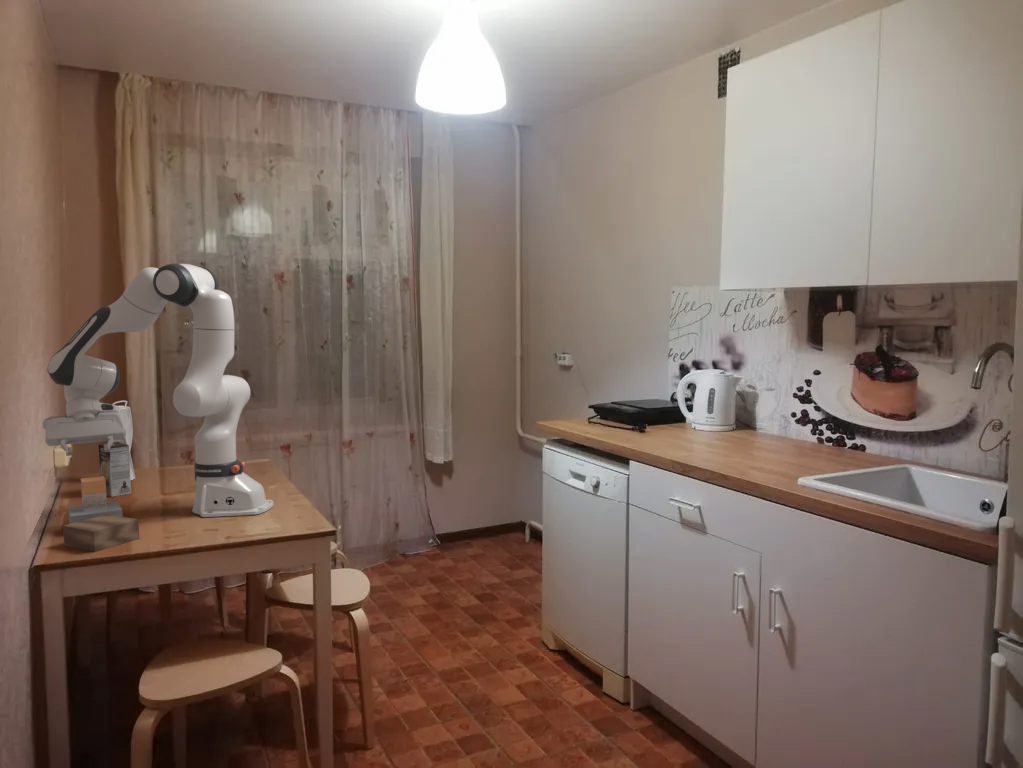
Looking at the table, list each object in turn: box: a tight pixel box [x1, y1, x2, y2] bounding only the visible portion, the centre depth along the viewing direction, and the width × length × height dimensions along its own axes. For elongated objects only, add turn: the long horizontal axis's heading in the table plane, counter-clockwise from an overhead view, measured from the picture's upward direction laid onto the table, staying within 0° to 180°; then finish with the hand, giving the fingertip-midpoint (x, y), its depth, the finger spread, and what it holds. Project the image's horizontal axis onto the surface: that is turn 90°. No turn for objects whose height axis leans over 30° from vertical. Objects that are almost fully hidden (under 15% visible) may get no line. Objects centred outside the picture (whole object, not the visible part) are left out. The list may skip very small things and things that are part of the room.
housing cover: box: [80, 476, 106, 495], centre depth 203 cm, size 6×6×4 cm
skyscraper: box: [112, 400, 136, 481], centre depth 259 cm, size 8×8×28 cm
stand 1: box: [67, 500, 124, 524], centre depth 204 cm, size 12×12×5 cm
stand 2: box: [62, 514, 140, 553], centre depth 189 cm, size 12×12×5 cm
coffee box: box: [97, 442, 132, 498], centre depth 242 cm, size 9×6×16 cm
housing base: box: [81, 491, 108, 512], centre depth 203 cm, size 6×6×4 cm
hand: (88, 452), depth 212 cm, fingers open, 8 cm apart
